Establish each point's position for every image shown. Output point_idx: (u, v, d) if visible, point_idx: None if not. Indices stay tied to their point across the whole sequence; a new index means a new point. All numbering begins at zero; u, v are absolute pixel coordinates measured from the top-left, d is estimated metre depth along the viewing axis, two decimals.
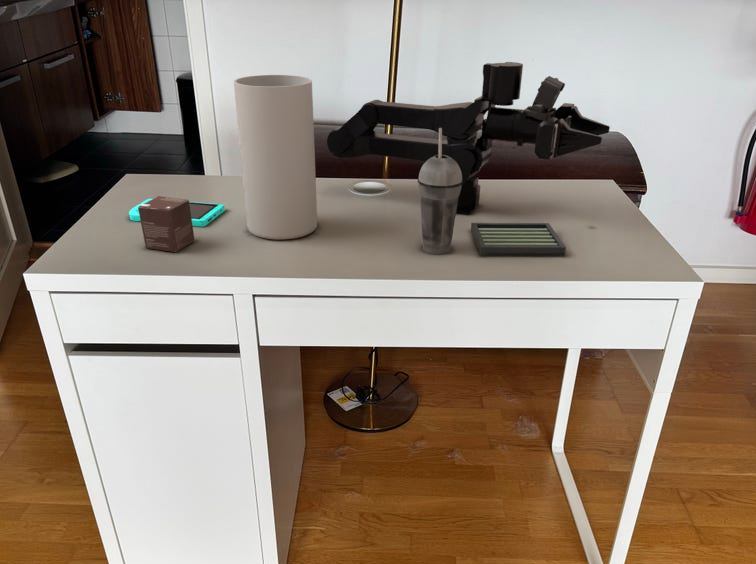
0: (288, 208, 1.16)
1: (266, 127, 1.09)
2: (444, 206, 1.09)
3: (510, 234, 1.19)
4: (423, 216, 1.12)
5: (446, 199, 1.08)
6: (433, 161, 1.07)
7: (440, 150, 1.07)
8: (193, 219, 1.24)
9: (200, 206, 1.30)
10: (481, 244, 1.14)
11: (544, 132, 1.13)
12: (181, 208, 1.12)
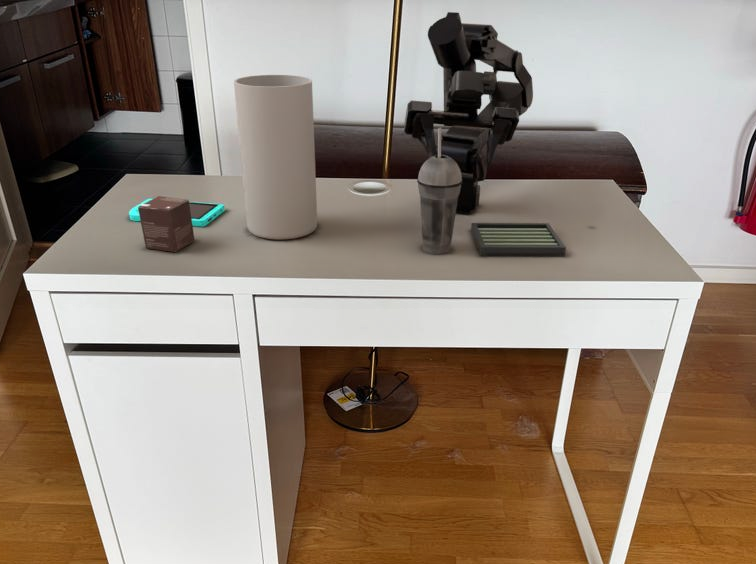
0: (288, 208, 1.16)
1: (266, 127, 1.09)
2: (444, 206, 1.09)
3: (510, 234, 1.19)
4: (423, 216, 1.12)
5: (445, 199, 1.08)
6: (432, 161, 1.07)
7: (439, 150, 1.07)
8: (193, 219, 1.24)
9: (200, 206, 1.30)
10: (481, 244, 1.14)
11: (407, 110, 1.14)
12: (181, 208, 1.12)
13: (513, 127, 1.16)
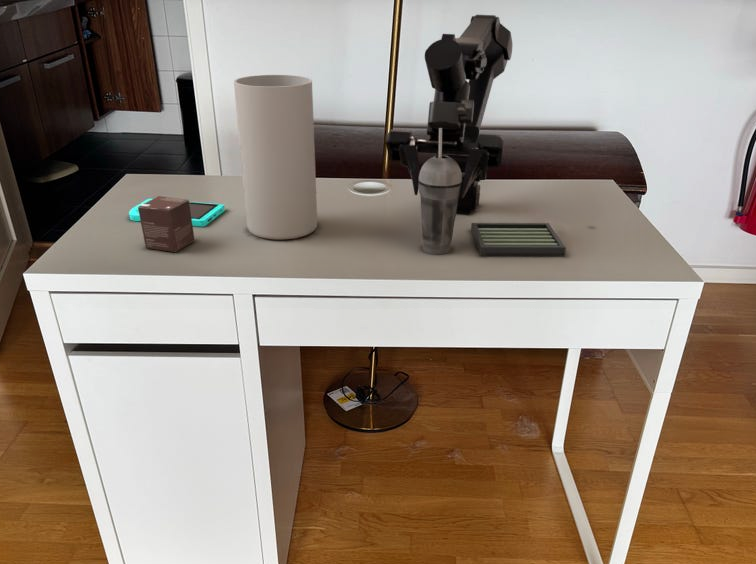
0: (288, 208, 1.16)
1: (266, 127, 1.09)
2: (444, 206, 1.09)
3: (510, 234, 1.19)
4: (423, 216, 1.12)
5: (446, 199, 1.08)
6: (433, 161, 1.07)
7: (440, 150, 1.07)
8: (193, 219, 1.24)
9: (200, 206, 1.30)
10: (481, 244, 1.14)
11: None
12: (181, 208, 1.12)
13: (498, 155, 1.09)
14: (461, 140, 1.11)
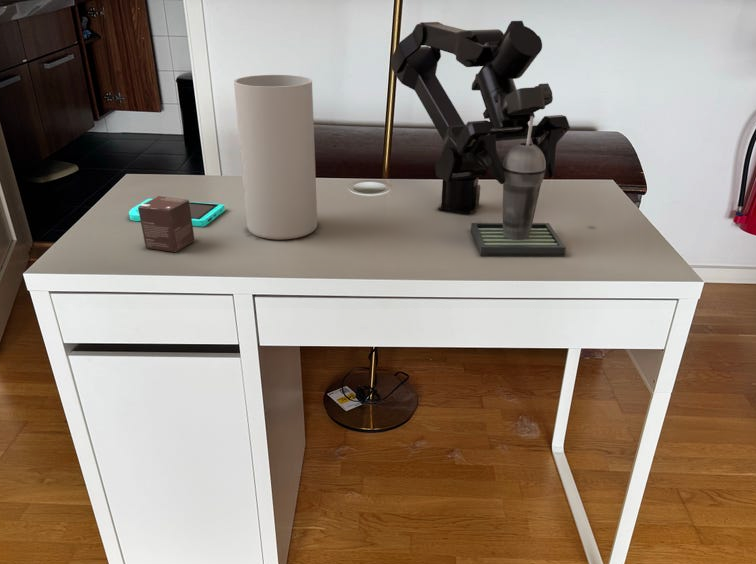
0: (288, 208, 1.16)
1: (266, 127, 1.09)
2: (536, 191, 1.12)
3: None
4: (513, 205, 1.13)
5: (538, 184, 1.12)
6: (525, 149, 1.09)
7: (530, 137, 1.09)
8: (193, 219, 1.24)
9: (200, 206, 1.30)
10: (481, 244, 1.14)
11: (465, 132, 1.09)
12: (181, 208, 1.12)
13: None
14: (527, 124, 1.14)
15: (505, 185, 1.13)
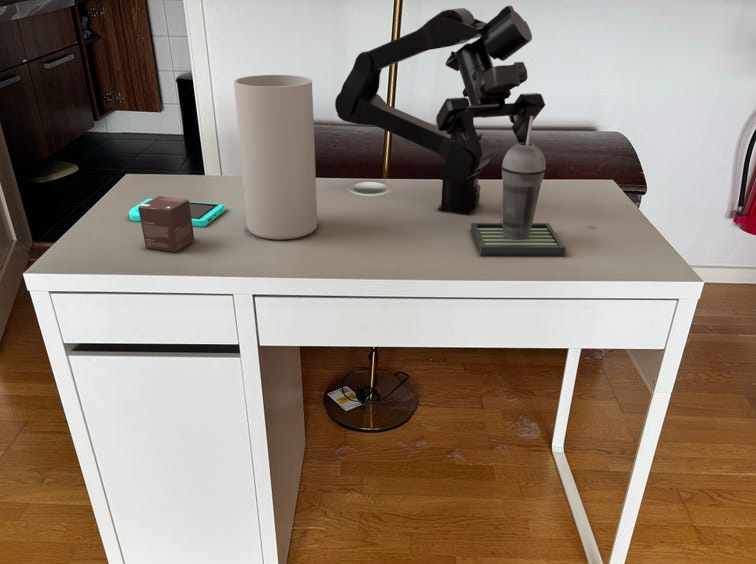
0: (288, 208, 1.16)
1: (266, 127, 1.09)
2: (536, 191, 1.12)
3: None
4: (513, 205, 1.13)
5: (538, 184, 1.12)
6: (524, 149, 1.09)
7: (529, 137, 1.09)
8: (193, 219, 1.24)
9: (200, 206, 1.30)
10: (481, 244, 1.14)
11: (444, 108, 1.15)
12: (181, 208, 1.12)
13: None
14: (504, 101, 1.19)
15: (505, 185, 1.13)
